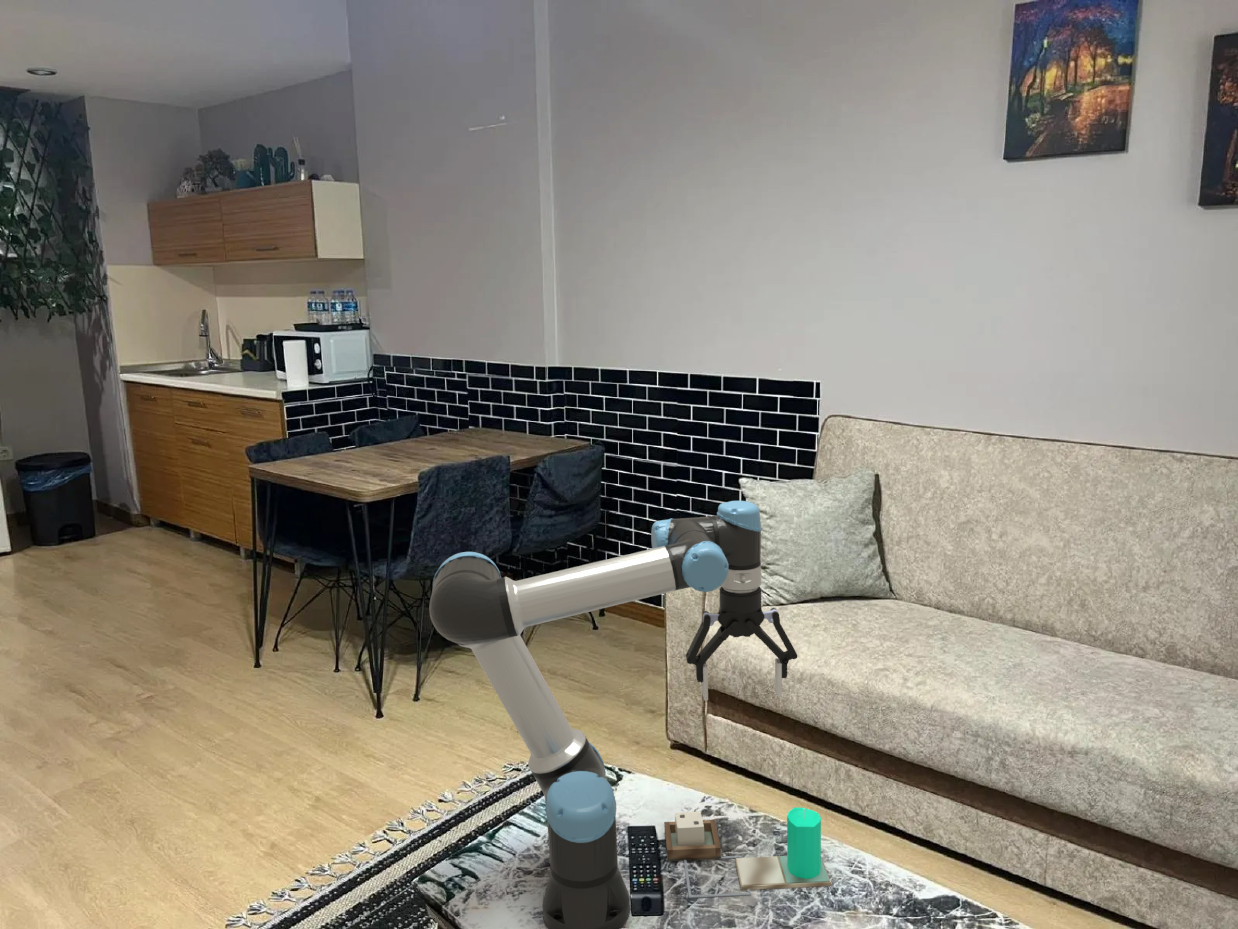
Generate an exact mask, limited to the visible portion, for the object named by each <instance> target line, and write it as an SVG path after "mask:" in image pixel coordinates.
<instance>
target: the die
mask: <svg viewBox="0 0 1238 929" xmlns="http://www.w3.org/2000/svg"><path fill="white" fill-rule="evenodd" d="M703 820H704V819H703V817H702V812H701V811H684V812H674V822H675V833H676V841H677V846H698V845H704V824H703Z"/></svg>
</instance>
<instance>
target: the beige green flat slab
mask: <svg viewBox="0 0 1238 929" xmlns="http://www.w3.org/2000/svg"><path fill="white" fill-rule="evenodd" d="M734 862H735V864H734V865H735V868H736V872H737V876H738V881H739V887H740V890H741V891H747V889H750V891H752V890H770V889H771V890H772V889H774V890H775V889H793V888H794V889H795V888H815V887H832V881H831V879H830V877H829V873H828V871H827V867H826V864H825V862H824V861H823V858H822V856H821V870H820V874H819V875H817V876H816V877H814V878H808V879H803V878H799V877H796V876H794V875H793V874H791V873H790V872H789V870H788V868H787V855H779V856H777V855H776V856H755V857H742V858H735V859H734Z"/></svg>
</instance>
